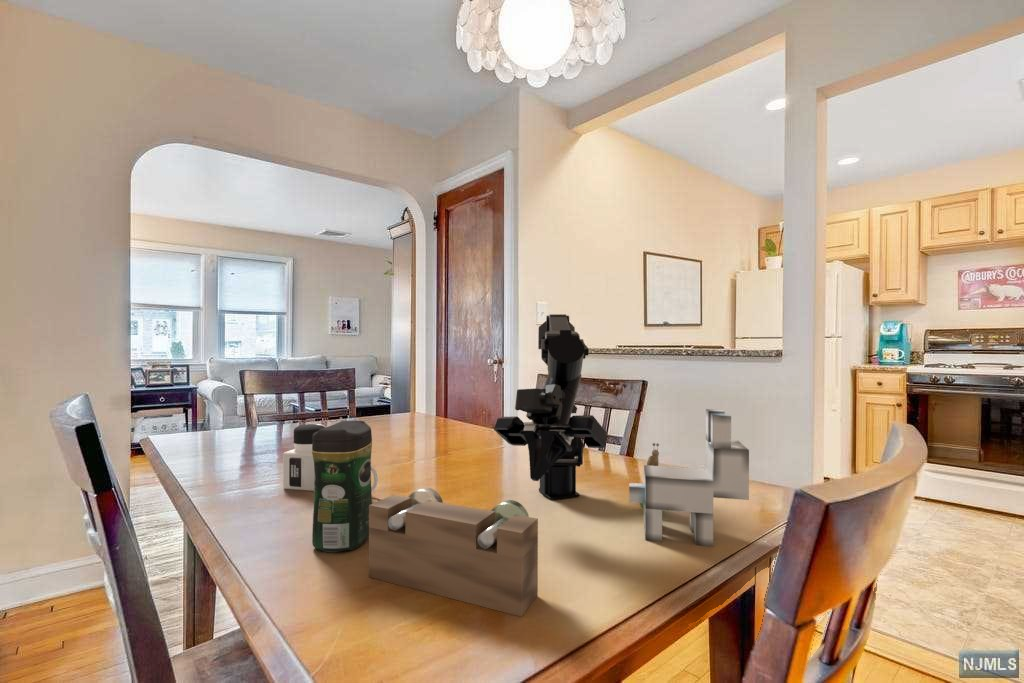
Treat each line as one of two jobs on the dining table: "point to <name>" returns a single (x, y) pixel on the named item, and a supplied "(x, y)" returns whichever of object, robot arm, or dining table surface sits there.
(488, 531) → the knob sage
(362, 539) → the coffee jar
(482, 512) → the block
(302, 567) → the dining table surface
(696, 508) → the toy llama
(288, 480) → the container
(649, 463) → the snail figurine
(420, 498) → the silver rounded piece
